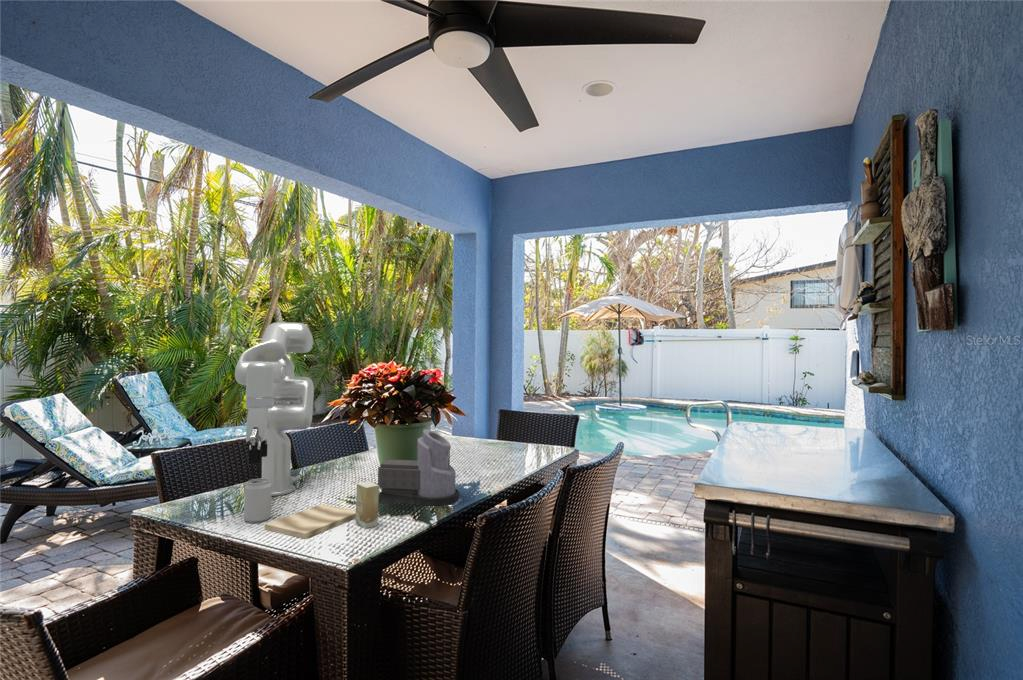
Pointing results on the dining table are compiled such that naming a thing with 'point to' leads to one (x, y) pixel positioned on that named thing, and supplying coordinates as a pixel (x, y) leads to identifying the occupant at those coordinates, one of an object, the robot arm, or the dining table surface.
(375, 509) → the skincare box
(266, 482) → the can
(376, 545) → the dining table surface
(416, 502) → the juicer
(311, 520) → the oak board
